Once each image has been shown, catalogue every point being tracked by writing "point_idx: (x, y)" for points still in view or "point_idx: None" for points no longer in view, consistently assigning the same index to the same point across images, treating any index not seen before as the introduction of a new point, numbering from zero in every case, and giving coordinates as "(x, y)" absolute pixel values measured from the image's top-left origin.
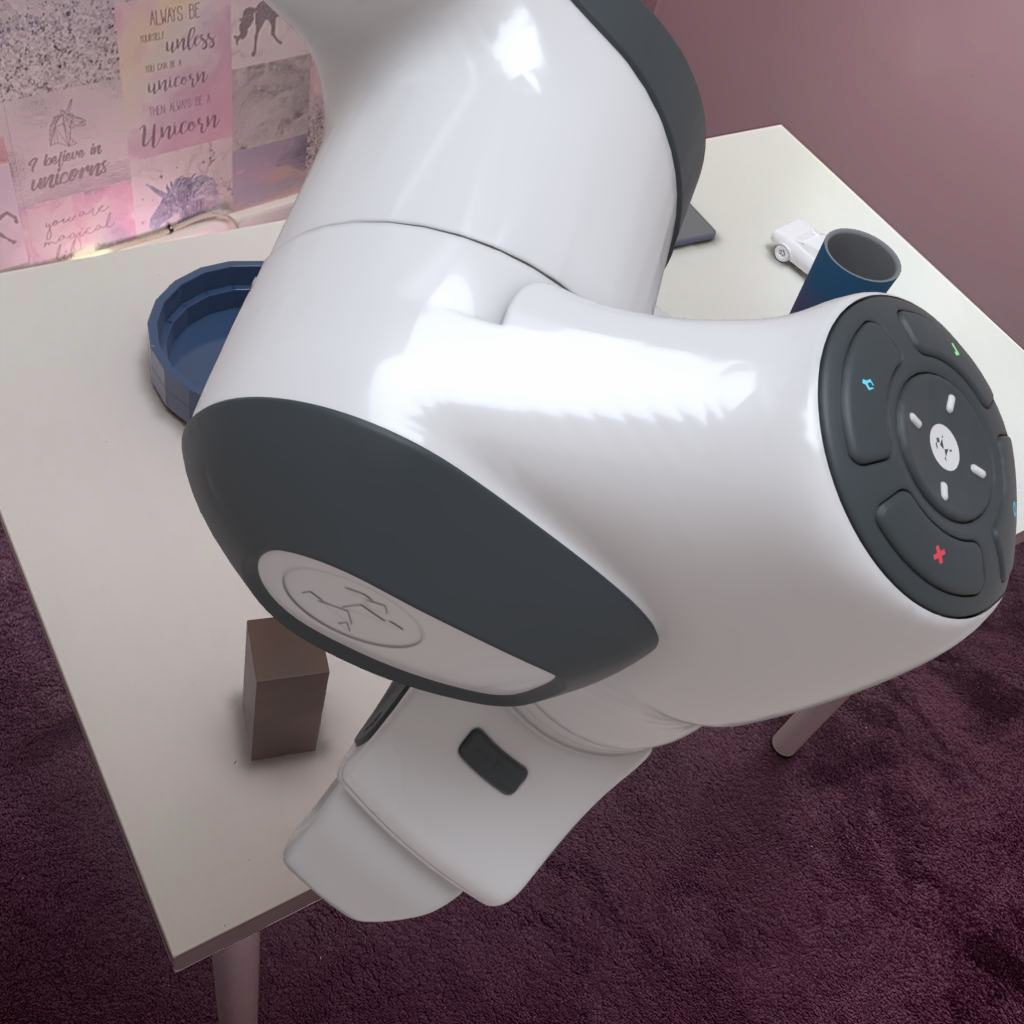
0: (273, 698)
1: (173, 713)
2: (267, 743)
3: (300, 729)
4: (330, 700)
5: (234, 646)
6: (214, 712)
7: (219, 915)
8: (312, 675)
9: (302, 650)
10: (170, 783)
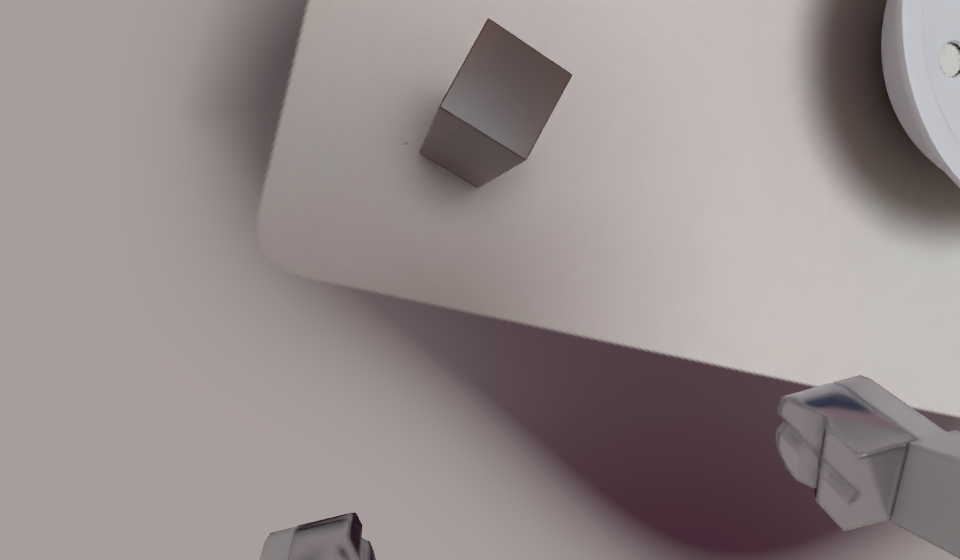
0: (453, 132)
1: (387, 53)
2: (437, 154)
3: (471, 169)
4: None
5: None
6: (422, 82)
7: (297, 263)
8: (505, 148)
9: (518, 109)
10: (338, 117)
